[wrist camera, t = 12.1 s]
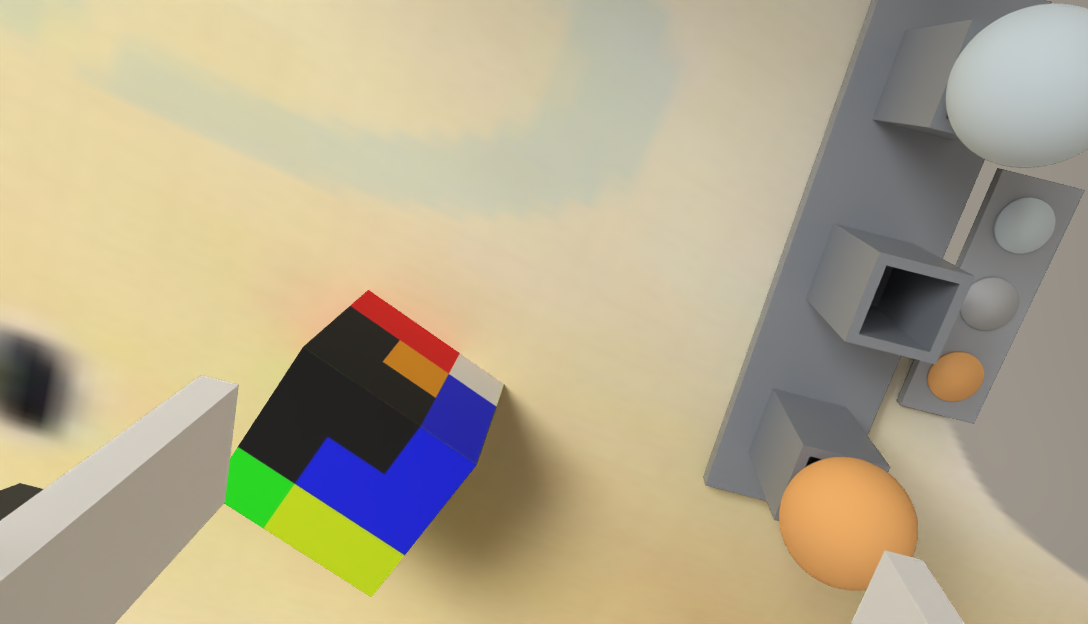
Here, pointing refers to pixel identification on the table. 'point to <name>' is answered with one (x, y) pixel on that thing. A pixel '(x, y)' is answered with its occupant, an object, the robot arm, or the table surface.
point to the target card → (993, 291)
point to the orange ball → (846, 520)
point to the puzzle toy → (363, 442)
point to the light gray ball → (1024, 87)
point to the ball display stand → (860, 255)
